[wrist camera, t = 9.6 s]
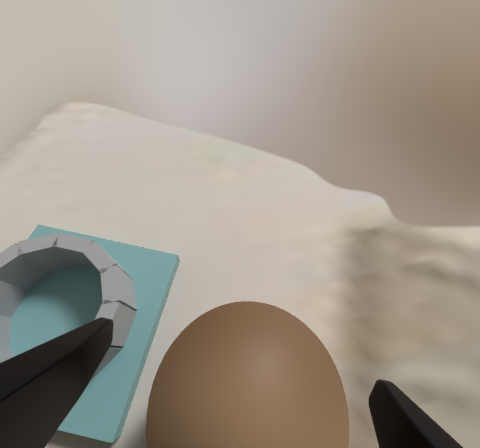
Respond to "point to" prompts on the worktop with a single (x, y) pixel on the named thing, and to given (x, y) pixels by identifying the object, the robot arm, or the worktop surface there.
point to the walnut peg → (247, 385)
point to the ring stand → (86, 312)
